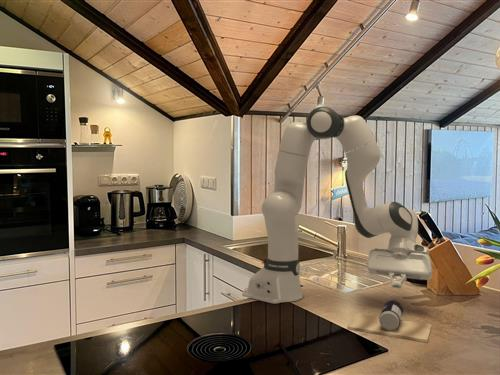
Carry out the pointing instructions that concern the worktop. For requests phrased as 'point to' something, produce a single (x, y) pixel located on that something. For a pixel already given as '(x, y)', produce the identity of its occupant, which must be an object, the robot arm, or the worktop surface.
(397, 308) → the beverage can
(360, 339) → the worktop surface
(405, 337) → the folded beige cloth
